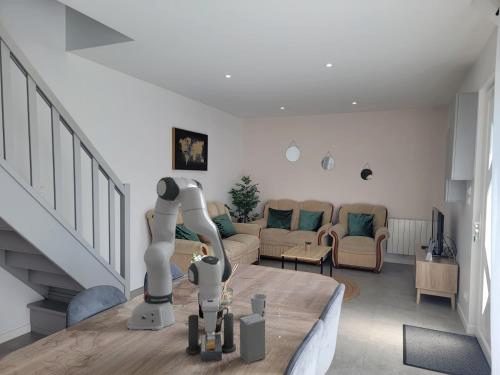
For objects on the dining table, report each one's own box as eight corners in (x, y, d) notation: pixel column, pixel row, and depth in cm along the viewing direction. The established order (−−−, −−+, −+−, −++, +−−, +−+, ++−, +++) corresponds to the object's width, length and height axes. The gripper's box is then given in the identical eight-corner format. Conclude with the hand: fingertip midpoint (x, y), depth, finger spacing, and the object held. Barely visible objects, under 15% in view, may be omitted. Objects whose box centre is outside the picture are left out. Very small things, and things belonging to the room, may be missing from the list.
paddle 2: (207, 349, 129) (206, 345, 129) (207, 346, 132) (206, 342, 132) (215, 347, 130) (214, 343, 129) (214, 344, 132) (213, 340, 132)
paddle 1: (207, 338, 137) (207, 335, 137) (207, 336, 140) (207, 332, 139) (214, 338, 138) (214, 334, 137) (214, 335, 140) (214, 331, 140)
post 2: (221, 353, 133) (221, 318, 133) (220, 345, 139) (220, 312, 139) (236, 352, 134) (236, 317, 134) (235, 344, 140) (235, 311, 139)
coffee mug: (206, 335, 148) (205, 313, 148) (203, 327, 157) (203, 305, 156) (231, 332, 151) (231, 310, 151) (227, 324, 160) (227, 303, 159)
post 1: (185, 355, 131) (185, 320, 131) (186, 347, 137) (186, 314, 137) (201, 354, 132) (200, 319, 132) (201, 346, 138) (201, 313, 138)
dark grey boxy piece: (200, 361, 127) (200, 351, 127) (201, 343, 141) (201, 334, 141) (222, 360, 128) (222, 350, 128) (220, 342, 142) (220, 333, 142)
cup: (265, 320, 164) (265, 300, 163) (249, 319, 165) (249, 298, 165) (268, 313, 172) (268, 294, 171) (252, 312, 173) (252, 293, 173)
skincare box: (257, 350, 135) (257, 312, 135) (266, 359, 129) (266, 318, 128) (238, 356, 131) (238, 316, 131) (247, 365, 125) (247, 323, 124)
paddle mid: (207, 343, 133) (207, 339, 133) (207, 340, 136) (207, 336, 136) (215, 343, 134) (215, 339, 134) (214, 340, 136) (214, 336, 136)
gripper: (202, 289, 143) (202, 321, 144) (201, 308, 123) (201, 346, 123) (217, 289, 144) (217, 321, 144) (218, 308, 123) (218, 345, 124)
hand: (210, 332), depth 134 cm, fingers closed
